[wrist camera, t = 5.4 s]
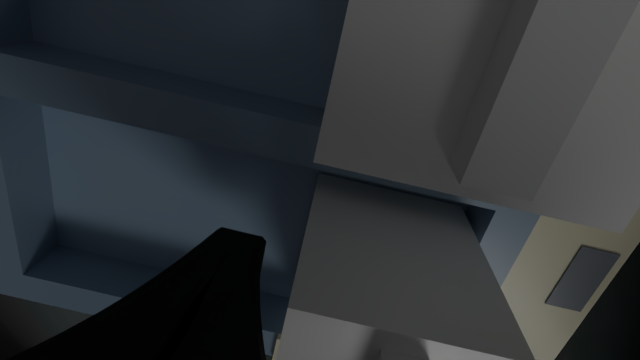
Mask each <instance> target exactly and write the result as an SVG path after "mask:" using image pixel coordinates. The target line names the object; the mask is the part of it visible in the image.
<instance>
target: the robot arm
mask: <svg viewBox="0 0 640 360" xmlns="http://www.w3.org/2000/svg"><path fill="white" fill-rule="evenodd" d="M265 247H266V240H265V239H264V238H263V237H262V236H258V235H254V234H249V233H245V232H241V231H237V230H232V229H228V228H224V227H221V228H219V229H217V230H216V231H215V232H213V233H212V234H211V235H210V236H208V237H207V238H206V239H205V240H203V241H202V242H201V243H200V244H198V245H197V246H196V247H195V248H193V249H192V250H191V251H189V252H188V253H187V254H185V255H184V256H183V257H181V258H180V259H179V260H177V261H176V262H174V263H173V264H172V265H170V266H169V267H168V268H166V269H165V270H163V271H162V272H161V273H159V274H158V275H156V276H155V277H153V278H152V279H151V280H149V281H147V282H146V283H144V284H143V285H141V286H140V287H138V288H137V289H135V290H134V291H132V292H130V293H129V294H127V295H126V296H124V297H123V298H121V299H120V300H118V301H116V302H115V303H113V304H111V305H110V306H108V307H106V308H105V309H103V310H101V311H100V312H98V313H96V314H94V315H93V316H91V317H89V318H87V319H86V320H84V321H82V322H80V323H78V324H76V325H75V326H73V327H71V328H69V329H67V330H65V331H64V332H62V333H60V334H58V335H56V336H54V337H52V338H50V339H48V340H46V341H44V342H42V343H40V344H38V345H36V346H34V347H32V348H30V349H28V350H26V351H24V352H21V353H19V354H17V355H15V356H13V357H11V358H9V359H7V360H266V356H265V349H264V341H263V332H262V322H261V309H260V274H261V269H262V263H263V258H264V252H265Z"/></svg>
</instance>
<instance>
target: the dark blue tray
mask: <svg viewBox="0 0 640 360" xmlns="http://www.w3.org/2000/svg"><path fill="white" fill-rule="evenodd" d="M348 3H349V0H0V294H4V295H8V296H12V297H17V298H21V299H26V300H30V301H34V302H39V303H43V304H47V305H52V306H56V307H61V308H65V309H69V310H74V311H78V312H82V313H87V314H91V315H94V314H96V313H98V312H100V311H101V310H103V309H105V308H106V307H108V306H110V305H111V304H113V303H115V302H116V301H118V300H120V299H121V298H123V297H124V296H126V295H127V294H129V293H130V292H132V291H134V290H135V289H137V288H138V287H140V286H141V285H143V284H144V283H146V282H147V281H149V280H151V279H152V278H153V277H155V276H156V275H158V274H159V273H161V272H162V271H163V270H165V269H166V268H168V267H169V266H170V265H172V264H173V263H174V262H176V261H177V260H179V259H180V258H181V257H183V256H184V255H185V254H187V253H188V252H189V251H191V250H192V249H193V248H195V247H196V246H197V245H198V244H200V243H201V242H202V241H203V240H205V239H206V238H207V237H208V236H210V235H211V234H212V233H213V232H215V231H216V230H217V229H219V228H221V227H224V228H228V229H232V230H237V231H241V232H245V233H249V234H254V235H258V236H262V237H263V238H264V239H265V240H266V247H265V252H264V258H263V263H262V269H261V274H260V309H261V322H262V332H263V341H264V349H265V354H266V355H270V356H273V358H272V360H276V356H277V351H278V347H279V343H280V338H281V334H282V330H283V325H284V321H285V317H286V313H287V308H288V304H289V300H290V295H291V291H292V287H293V282H294V278H295V274H296V269H297V265H298V261H299V257H300V252H301V248H302V244H303V239H304V235H305V231H306V226H307V222H308V218H309V213H310V209H311V205H312V201H313V196H314V192H315V188H316V183H317V179H318V175H319V173H321V174H325V175H330V176H334V177H338V178H343V179H347V180H351V181H356V182H360V183H364V184H368V185H373V186H377V187H381V188H386V189H390V190H394V191H399V192H403V193H407V194H412V195H416V196H420V197H424V198H429V199H433V200H437V201H442V202H446V203H450V204H455V205H459V206H462V209H463V211H464V213H465V215H466V217H467V219H468V221H469V223H470V225H471V227H472V229H473V231H474V233H475V236H476V238H477V240H478V242H479V244H480V246H481V248H482V250H483V252H484V254H485V256H486V258H487V260H488V263H489V265H490V267H491V269H492V271H493V273H494V275H495V277H496V279H497V281H498V283H499V285H500V287H501V290H502V292H503V294H504V296H505V298H506V300H507V302H508V304H509V306H510V308H511V310H512V312H513V314H514V317H515V319H516V321H517V323H518V325H519V327H520V329H521V331H522V333H523V335H524V337H525V339H526V341H527V343H528V346H529V348H530V350H531V352H532V354H533V356H534V358H535V359H536V360H554V359H555V358H556V357H557V355H558V354H559V352H560V351H561V350H562V348H563V347H564V345H565V344H566V343H567V341H568V340H569V339H570V337H571V336H572V334H573V333H574V332H575V330H576V329H577V328H578V326H579V325H580V323H581V322H582V321H583V319H584V318H585V316H586V315H587V314H588V312H589V311H590V310H591V308H592V307H593V305H594V304H595V303H596V301H597V300H598V299H599V297H600V296H601V294H602V293H603V292H604V290H605V289H606V288H607V286H608V285H609V283H610V282H611V281H612V279H613V278H614V276H615V275H616V274H617V272H618V271H619V270H620V268H621V267H622V265H623V264H624V263H625V261H626V260H627V259H628V257H629V256H630V254H631V253H632V252H633V250H634V249H635V247H636V246H637V245H638V243H639V242H640V208H639V209H638V210H637V212H636V213H635V215H634V216H633V218H632V219H631V221H630V222H629V223H628V225H627V226H626V228H625V229H624V231H623V232H622V234H619V233H615V232H611V231H606V230H602V229H598V228H594V227H589V226H585V225H581V224H576V223H572V222H568V221H563V220H559V219H555V218H551V217H546V216H542V215H538V214H533V213H529V212H525V211H520V210H516V209H512V208H508V207H503V206H499V205H495V204H490V203H486V202H482V201H477V200H473V199H469V198H465V197H460V196H456V195H452V194H447V193H443V192H439V191H434V190H430V189H426V188H421V187H417V186H413V185H409V184H404V183H400V182H396V181H391V180H387V179H383V178H378V177H374V176H370V175H366V174H361V173H357V172H353V171H348V170H344V169H340V168H335V167H331V166H327V165H323V164H318V163H314V162H313V161H314V156H315V152H316V147H317V143H318V138H319V134H320V129H321V124H322V120H323V115H324V111H325V106H326V102H327V97H328V93H329V88H330V84H331V79H332V75H333V70H334V66H335V61H336V57H337V52H338V48H339V43H340V39H341V34H342V30H343V25H344V21H345V16H346V12H347V7H348Z"/></svg>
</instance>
